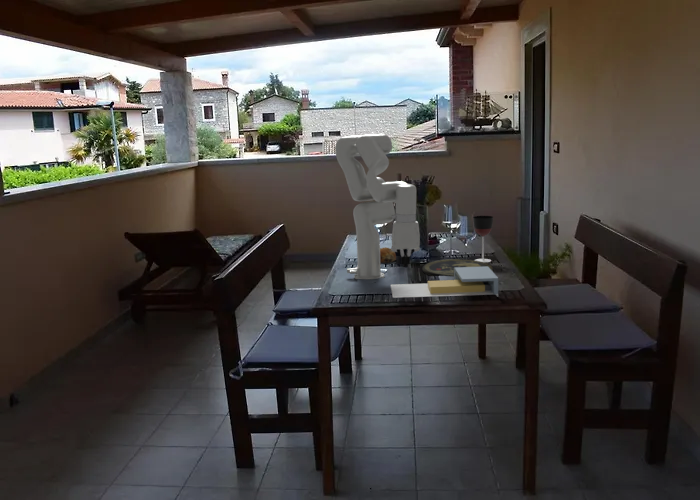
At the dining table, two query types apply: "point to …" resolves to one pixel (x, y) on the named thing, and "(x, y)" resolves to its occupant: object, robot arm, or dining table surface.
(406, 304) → the dining table surface
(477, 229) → the wineglass
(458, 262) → the decorative plate
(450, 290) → the ochre panel
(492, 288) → the overhang dock
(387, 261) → the bread roll
